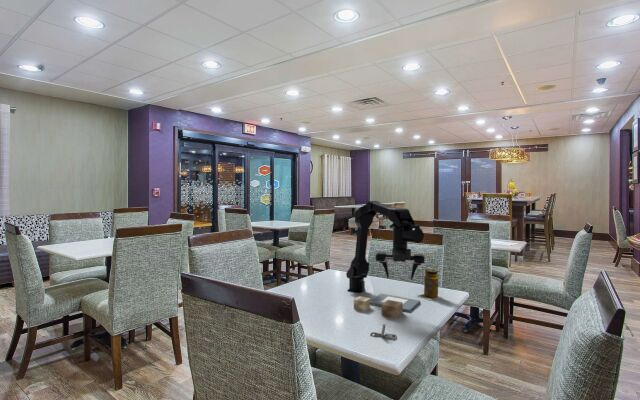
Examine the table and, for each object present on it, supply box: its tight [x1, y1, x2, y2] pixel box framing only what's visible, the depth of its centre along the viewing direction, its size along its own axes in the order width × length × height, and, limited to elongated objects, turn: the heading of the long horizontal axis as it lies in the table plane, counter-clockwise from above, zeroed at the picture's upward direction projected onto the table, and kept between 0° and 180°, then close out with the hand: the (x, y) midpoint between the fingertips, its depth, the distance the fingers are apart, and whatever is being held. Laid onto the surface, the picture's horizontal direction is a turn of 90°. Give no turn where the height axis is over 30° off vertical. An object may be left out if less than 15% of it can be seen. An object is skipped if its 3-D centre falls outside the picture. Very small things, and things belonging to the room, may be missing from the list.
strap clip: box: [369, 323, 398, 341], centre depth 116 cm, size 8×3×4 cm, turn 69°
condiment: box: [416, 269, 442, 301], centre depth 159 cm, size 7×8×12 cm
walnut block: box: [381, 300, 404, 320], centre depth 136 cm, size 6×7×4 cm
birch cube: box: [353, 296, 371, 312], centre depth 143 cm, size 5×5×4 cm
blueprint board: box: [370, 293, 421, 313], centre depth 149 cm, size 18×14×1 cm
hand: (399, 278), depth 140 cm, fingers open, 9 cm apart
